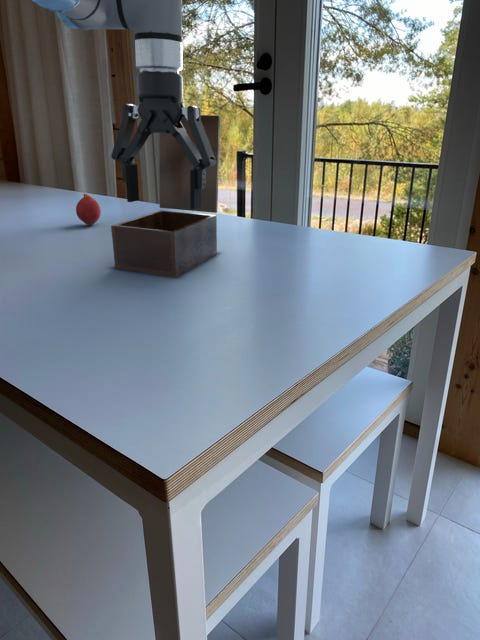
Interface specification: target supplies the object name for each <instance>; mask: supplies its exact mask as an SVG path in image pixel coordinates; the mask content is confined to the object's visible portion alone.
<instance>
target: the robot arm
mask: <svg viewBox="0 0 480 640" xmlns="http://www.w3.org/2000/svg"><path fill="white" fill-rule="evenodd" d="M31 1H32V2H33V3H34V4H36V5H37V6H39V7H41V8H43V9H46V10H47V11H50V12H55V13H56V16H57V17H58V18H59V20H60V21H61V23H62V24H63V25H64V26H65V27H67V28H68V29H69V28H70V29H78V30H79V29H80V30H83V31H90V30H127V31H132V30H134V49H135V50H134V51H135V68H136V69H138V70H139V72H137V74H136V89H137V90H136V91H137V96H138V105H136V104H134V103H133V104H132V103H123V105H122V119H121V121H120V125H119V128H118V132H117V134H116V138H115V141H114V146H113V148H112V152H111V159H112V160H113V161H117V162H119V163H120V164H121V173H122V181H123V183H125V184H126V185H125V186H126V201H127V203H134V202H138V201H140V191H139V190H140V189H139V172H138V170H139V169H138V163H136V161H135V159H136V158H137V156H138V154H139V153H140V151H141V149H142V148H143V147H144V145H145V143H146V142H147V140H148V138H150V135H152V134H157V133H158V134H159V133H171V135H172V136H173V137H175V139H176V140H177V142H178V143H179V145H180V146H181V148H182V149H183V151H184V152H185V154H186V156H187V157H188V159H189V160H190V162H191V163H192V165H193V166H194V169H193V170H190V204H191V209H197V208H200V207H201V189H205V186H206V169H207V168H208V167H211V166H215V165H216V159H215V156H214V154H213V151H212V149H211V146H210V143H209V141H208V138H207V135H206V133H205V130H204V127H203V125H202V122H201V115H202V114H201V108H200V106H198V105H188V106H184V104H183V98H184V77H183V76H182V74H180V72H181V71H182V70H183V0H31ZM184 115H185V118H186V119H187V120H188V123H189V126H190V129H191V131H192V134H193V137H194V139H195V142H196V145H197V147H198V150H199V151H198V150H197V148H196V147H195V145H194V144H193V142H192V141H191V139H190V137H189V136H188V134H187V133H186V129H185V128H184V126H183V124H182V123H181V120H182V118H183V116H184ZM138 117H140V119H141V121H140V122H139V124H138V125H137V127H136V131H135V133H134V134H133V132H134V129H135V125H136V122H137V118H138ZM132 135H133V136H132ZM199 152H200V153H199Z"/></svg>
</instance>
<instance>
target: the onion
mask: <svg viewBox="0 0 480 640" xmlns="http://www.w3.org/2000/svg"><path fill="white" fill-rule="evenodd" d="M82 195H83V197H82V198H80V199H79V200H78V202H77V203H76V207H75V212H76V213H75V214H76V216H77V218H78V219H79V220H80V221H81V222H83V223H84V224H85V225H87V226H88V227H92V226H93V225H94V224H96V223H97V222H98V220H99V219H100V217H101V213H102V212H101V211H102V209H101V206H100V204H99V203H98V202H97V200H96V199H94V198H93V197H91V195H90V194H88V193H86V192H85V193H83V194H82Z"/></svg>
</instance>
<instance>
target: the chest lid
mask: <svg viewBox="0 0 480 640" xmlns="http://www.w3.org/2000/svg"><path fill="white" fill-rule="evenodd" d="M201 122H202V125H203V127H204V130H205V133H206V135H207V138H208V141H209V143H210V146H211V149H212V151H213V154H214V156H215V159H216V165H215V166H211V167H208V168H207V169H206V186H205V189H201V207H200V208H197V209H191V204H190V170H193V169H194V166H193V165H192V163H191V162H190V160H189V159H188V157H187V156H186V154H185V152H184V151H183V149H182V148H181V146H180V145H179V143H178V142H177V140H176V139H175V137H173V136H172V135H171V133H158V137H159V138H158V140H159V142H158V149H159V150H158V151H159V152H158V154H159V157H158V158H159V159H158V165H159V167H158V168H159V170H158V171H159V172H158V173H159V180H158V181H159V185H158V187H159V208H160V209H169V210H179V211H191V212H201V213H203V212H204V213H211V214H217V213H218V205H219V203H218V202H219V200H218V199H219V176H220V174H219V173H220V171H219V170H220V146H221V145H220V144H221V115H218V114H201ZM181 123H182V124H183V126H184V128H185V129H186V133H187V134H188V136H189V137H190V139H191V141H192V142H193V144H194V145H195V147H196V148H197V150H198V147H197V145H196V142H195V139H194V137H193V134H192V131H191V129H190V126H189V123H188V120H187V119H186V118H185V115H184V116H183V118H182V120H181ZM198 151H199V150H198ZM199 153H200V152H199Z"/></svg>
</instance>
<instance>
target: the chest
mask: <svg viewBox="0 0 480 640" xmlns="http://www.w3.org/2000/svg"><path fill="white" fill-rule="evenodd" d="M217 223H218V221H217V215H216V214H207V213H205V214H204V213H195V212H186V211H174V210H166V209H165V210H164V209H163V210H162V209H160V210H157V211H154V212H151V213H147V214H143V215H141V216H138V217H135V218H131V219H128V220H124V221H122V222H119V223H115V224H112V225H110V230H111V238H112V248H113V250H112V251H113V260H114V269H117V270H126V271H131V272H132V271H133V272H139V273H143V274H151V275H159V276H165V277H172V278H177V277H179V276H181V275H184V274H185V273H186V272H188V271H190V270H191V269H193V268H195V267H197V266H198V265H200V264H202V263H203V262H205V261H207V260H208V259H210V258H212V257H214V256H215V255H217V254H218V251H217V250H218V239H217V238H218V235H217V233H218V231H217V225H218V224H217Z"/></svg>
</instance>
